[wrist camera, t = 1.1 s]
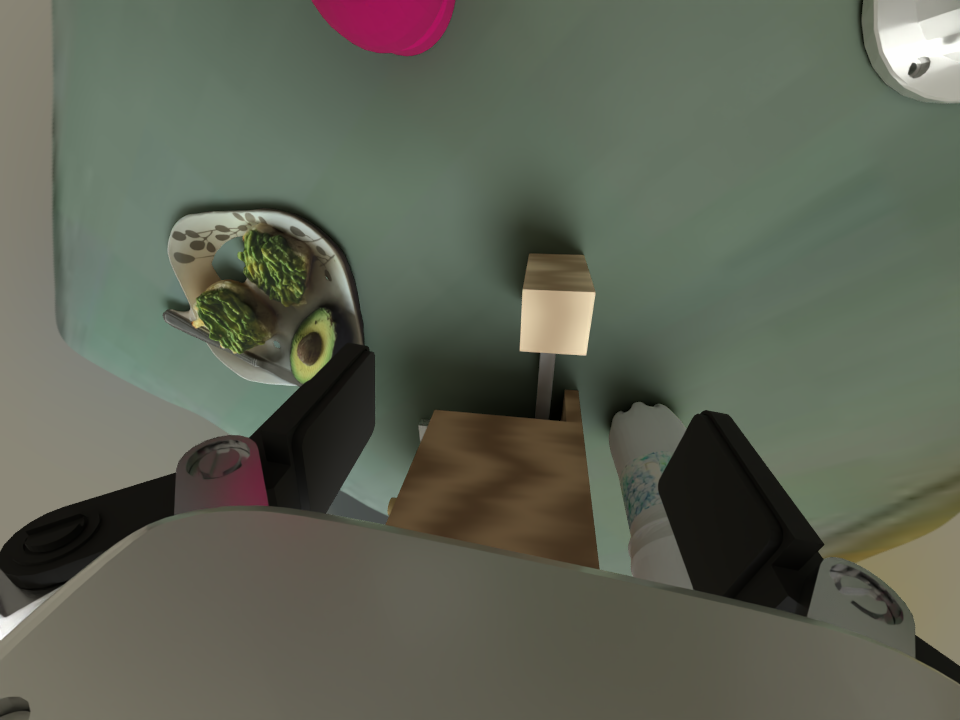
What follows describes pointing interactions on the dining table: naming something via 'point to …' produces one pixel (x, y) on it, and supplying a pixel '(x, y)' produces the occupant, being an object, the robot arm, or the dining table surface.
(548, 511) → the wooden box
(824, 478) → the dining table surface
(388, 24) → the pepper mill
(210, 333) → the salad plate
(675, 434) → the bottle
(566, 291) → the beige mallet
